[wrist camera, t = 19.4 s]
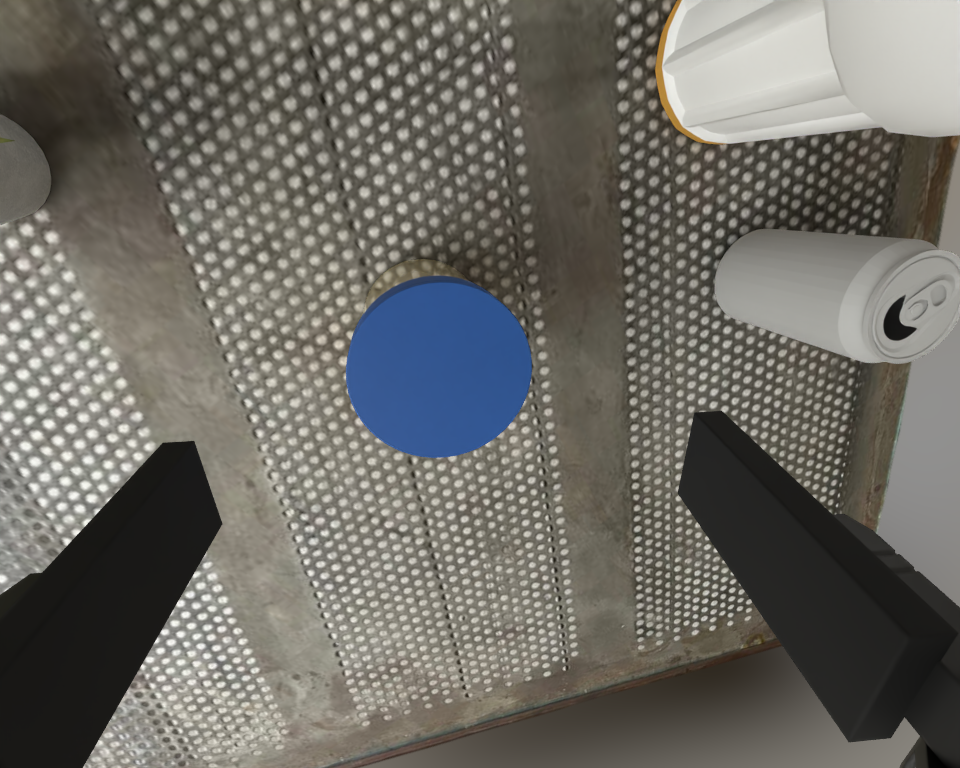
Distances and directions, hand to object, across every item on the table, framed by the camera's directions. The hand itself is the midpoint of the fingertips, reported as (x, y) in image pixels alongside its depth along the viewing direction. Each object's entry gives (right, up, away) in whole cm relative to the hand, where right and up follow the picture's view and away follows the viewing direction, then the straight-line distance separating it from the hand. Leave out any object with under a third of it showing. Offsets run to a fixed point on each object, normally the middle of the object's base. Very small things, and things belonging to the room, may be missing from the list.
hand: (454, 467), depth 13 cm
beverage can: (+20, +10, +22) cm, 31 cm away
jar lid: (-1, +3, +8) cm, 9 cm away
